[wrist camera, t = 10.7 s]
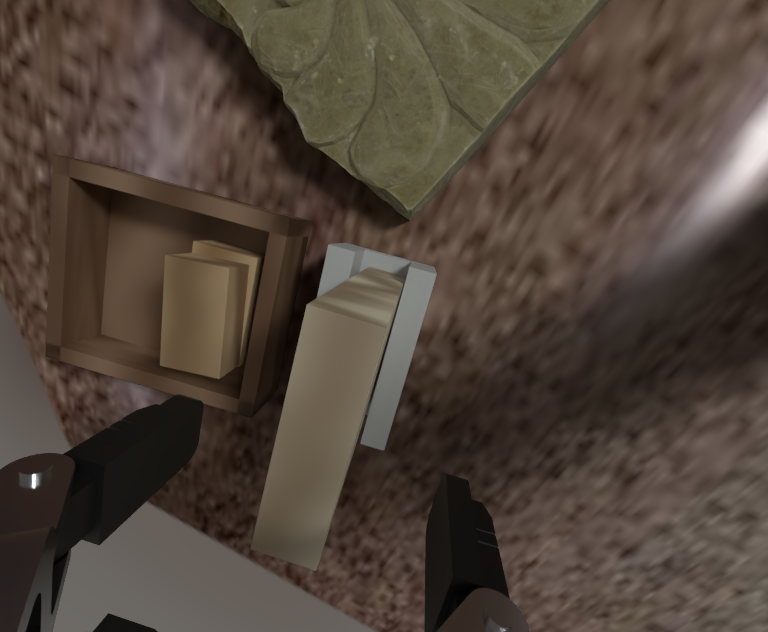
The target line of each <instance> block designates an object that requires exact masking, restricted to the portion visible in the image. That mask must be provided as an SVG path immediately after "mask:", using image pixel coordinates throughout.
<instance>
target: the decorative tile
mask: <svg viewBox="0 0 768 632" xmlns="http://www.w3.org/2000/svg"><path fill="white" fill-rule="evenodd" d="M189 1H190V2H191V3H192V4H193V5H194V6H195V7H196V8H197V9H198V10H199V11H200V12H202V13H203V14H204V15H205V16H207V17H208V18H211V19H213V20H214V21H215V22H217V23H219V24H221V25H222V26H224V27H226V28H229V29H231V30H233V31H234V32H235V34H236V35H237V36H238V37H239V38H241V39H242V41H243V42H244V44H245V45H246V47H247V48H248V50H249V53H250V54H251V55H252V56H253V57H254V58H255V60H256V62H257V65H258V67H259V69H260V70H261V72H262V73H263V75H264V76H266V77H268V78H269V79H270V81H271V82H272V83H273V84H274V85H275V86H276V87H277V88H278V89H279V90H281V91H282V92H283V98H284V103H285V105H286V107H287V108H288V109H289V110H290V111H291V112H292V113H293V115H294V116H295V118H296V119H297V121H298V123H299V125H300V128H301V130H302V133H303V135H304V138H305V140H306V142H307V143H309V144H310V145H311V146H313V147H315V148H316V149H318V150H321V151H323V152H324V153H325V154H327V155H328V156H329V157H330V158H331V159H333V160H334V161H335V162H337V163H338V164H340V165H341V166H342V167H343V168H344V169H346V170H347V172H348V173H349V174H350V175H352V176H353V177H354V178H356V179H357V180H360V181H362V182H363V183H364V184H365V185H367V186H368V187H369V188H370V189H371V190H372V191H373V192H375V193H376V195H377V196H379V197H380V198H381V199H383V200H385V201H386V202H387V203H388V204H389V205H391V206H392V207H393V208H394V209H395V210H396V211H397V212H398V213H399V214H401V215H403V216H404V217H405V218H407V219H408V220H410V221H411V220H412V219H414V218H415V217H416V216H417V215H418V214H419V213H420V212H421V211H422V210H423V208H424V207H425V206H426V205H427V204H428V203H429V202H430V201H431V200H432V199H433V198H434V197H435V195H436V194H437V193H438V192H439V191H440V190H441V189H442V188H443V187H444V186H445V185H446V184H447V183H448V181H449V180H450V179H451V178H452V177H453V176H454V175H455V174H456V173H457V172H458V171H459V169H460V168H461V167H462V166H463V165H464V164H465V163H466V162H467V161H468V160H469V159H470V157H471V156H472V155H473V154H474V153H475V152H476V151H477V150H478V149H479V148H480V146H481V145H482V144H483V143H484V142H485V141H486V140H487V139H488V138H489V137H490V135H491V134H492V133H493V132H494V131H495V130H496V129H497V128H498V127H499V125H500V124H501V123H502V122H503V121H504V120H505V119H506V117H507V116H508V115H509V114H510V113H511V112H512V111H513V109H514V108H515V107H516V106H517V105H518V104H519V103H520V101H521V100H522V99H523V98H524V97H525V96H526V95H527V94H528V92H529V91H530V90H531V89H532V88H533V87H534V86H535V85H536V83H537V82H538V81H539V80H540V79H541V78H542V77H543V76H544V74H545V73H546V72H547V71H548V70H549V69H550V68H551V67H552V66H553V64H554V63H555V62H556V61H557V60H558V59H559V58H560V57H561V56H562V54H563V53H564V52H565V51H566V50H567V49H568V48H569V46H570V45H571V44H572V43H573V42H574V41H575V40H576V38H577V37H578V36H579V35H580V34H581V33H582V31H583V30H584V29H585V28H586V27H587V26H588V24H589V23H590V22H591V21H592V20H593V19H594V18H595V16H596V15H597V14H598V13H599V12H600V11H601V10H602V8H603V7H604V6H605V5H606V4H607V3H608V2H609V1H610V0H189Z"/></svg>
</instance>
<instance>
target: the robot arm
mask: <svg viewBox="0 0 768 632" xmlns="http://www.w3.org/2000/svg"><path fill="white" fill-rule="evenodd" d="M202 413H203V402H202V401H201V400H198V399H194V398H191V397H187V396H184V395H181V394H177V395H175V396H173V397H172V398H170V399H169V400H167V401H165V402H164V403H162V404H161V405H157V404H155V405H152V406H149V407H145V408H142V409H139V410H136V411H135V412H133V413H131V414H130V415H128V416H126V417H125V418H123V419H122V421H118V422H116V423H115V424H113V425H111V426H110V428H106V429H105V430H103V431H101V432H99V433H98V434H96V435H94V436H93V437H91V438H89V439H88V440H86V441H84V442H83V443H81V444H79V445H78V446H76V447H74V448H73V449H71V450H69V451H68V452H66V453H64V454H57V453H44V454H36V455H32V456H28V457H24V458H21V459H19V460H16V461H14V462H12V463H10V464H8V465H6V466H5V467H3V468H2V469H0V632H53V628H54V623H55V619H56V615H57V611H58V607H59V602H60V598H61V594H62V590H63V586H64V582H65V578H66V574H67V569H68V565H69V561H70V556H71V548H72V547H73V546H75V545H76V544H77V543H78V542H79V541H80V540H81V539H82V540H85V541H88V542H91V543H94V544H97V545H100V544H101V543H102V542H103V541H104V540H105V539H106V538H108V537H109V536H110V535H111V534H112V533H113V532H114V531H115V530H116V529H117V528H118V527H119V526H120V525H121V524H123V523H124V522H125V521H126V520H127V519H128V518H129V517H130V516H131V515H132V514H133V513H134V512H135V511H136V510H137V509H138V508H140V507H141V506H142V505H143V504H144V503H145V502H146V501H147V500H148V499H149V498H150V497H151V496H152V495H153V494H155V493H156V492H157V491H158V490H159V489H160V488H161V487H162V486H163V485H164V484H165V483H166V482H167V481H168V480H169V479H171V478H172V477H173V476H174V475H175V474H176V473H177V472H178V471H179V470H180V469H181V468H182V467H183V466H184V465H186V464H187V463H188V462H189V460H190V459H191V458H192V456H193V455H194V453H195V451H196V449H197V446H198V442H199V435H200V428H201V421H202ZM93 632H157V631H156V630H155V629H153V628H150V627H146V626H144V625H141V624H138V623H135V622H132V621H129V620H126V619H123V618H120V617H117V616H114V615H112V614H107V616H106V617H105V618H104V619H103V621H102V622H101V623H100V624H99V625H98V626H97V628H96V629H95V630H94V631H93ZM425 632H530V629H529V626H528V623H527V621H526V619H525V617H524V615H523V614H522V612H521V611H520V609H519V608H518V607H517V606H516V605H515V604H514V603H513V602H512V601H511V600H510V598H509V593H508V589H507V584H506V580H505V575H504V571H503V566H502V562H501V557H500V553H499V549H498V544H497V539H496V536H495V530H494V526H493V521H492V517H491V516H490V514H489V513H488V511H487V510H486V508H485V506H484V505H483V503H481V502H478V501H475V500H471V494H470V488H469V482H468V480H465V479H462V478H458V477H455V476H452V475H448V474H445V473H444V474H443V476H442V478H441V481H440V484H439V487H438V490H437V493H436V496H435V499H434V502H433V505H432V508H431V511H430V514H429V518H428V523H427V529H426V557H425Z"/></svg>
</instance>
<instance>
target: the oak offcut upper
mask: <svg viewBox="0 0 768 632" xmlns="http://www.w3.org/2000/svg"><path fill="white" fill-rule="evenodd" d="M248 273H249V265H248V264H243V263H238V262H234V261H229V260H224V259H219V258H214V257H209V256H204V255H199V254H195V253H183V254H171V255H165V266H164V287H163V309H162V330H161V351H160V366H164V367H168V368H172V369H177V370H181V371H186V372H190V373H195V374H199V375H204V376H208V377H213V378H217V379H220V378H222V377H223V376H224V375H226V374H227V373H229V372H230V371H231V370H233V369H234V368H236V367H237V366H238V365H239V361H240V352H241V342H242V332H243V322H244V312H245V302H246V293H247V283H248Z"/></svg>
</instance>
